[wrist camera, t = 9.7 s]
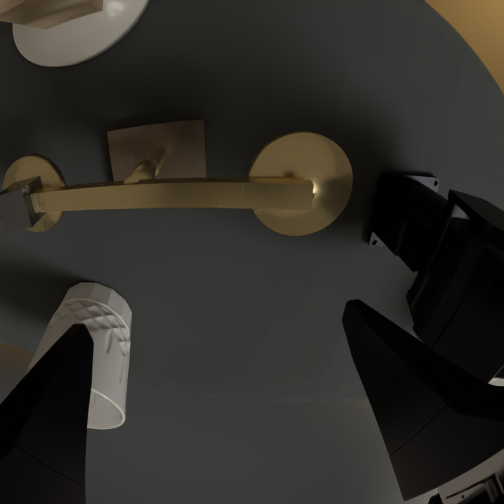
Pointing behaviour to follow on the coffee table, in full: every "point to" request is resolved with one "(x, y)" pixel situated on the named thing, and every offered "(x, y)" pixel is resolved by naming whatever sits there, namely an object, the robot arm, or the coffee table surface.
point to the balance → (188, 180)
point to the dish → (79, 34)
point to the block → (46, 11)
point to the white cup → (97, 347)
